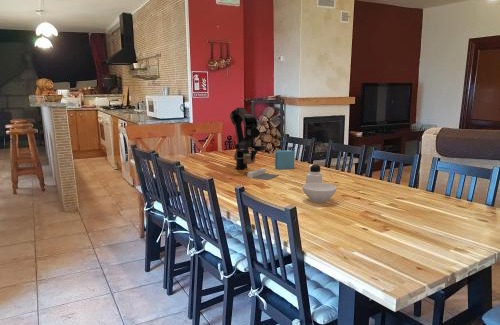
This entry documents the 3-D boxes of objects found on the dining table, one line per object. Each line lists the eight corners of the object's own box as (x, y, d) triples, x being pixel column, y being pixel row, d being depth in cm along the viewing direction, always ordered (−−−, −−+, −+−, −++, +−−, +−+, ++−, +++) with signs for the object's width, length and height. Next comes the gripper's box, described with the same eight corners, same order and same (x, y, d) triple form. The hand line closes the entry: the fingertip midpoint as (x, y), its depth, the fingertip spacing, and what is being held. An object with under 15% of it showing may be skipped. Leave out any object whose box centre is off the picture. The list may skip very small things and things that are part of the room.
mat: (252, 177, 228) (252, 177, 228) (264, 173, 240) (264, 173, 240) (267, 180, 223) (267, 179, 223) (278, 175, 234) (278, 175, 234)
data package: (291, 167, 259) (292, 150, 257) (294, 168, 255) (294, 151, 253) (275, 168, 256) (275, 150, 253) (277, 169, 251) (277, 151, 249)
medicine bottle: (322, 185, 210) (322, 164, 207) (318, 188, 203) (319, 166, 201) (309, 184, 213) (310, 163, 210) (305, 187, 206) (306, 165, 204)
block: (243, 163, 238) (243, 153, 237) (249, 161, 244) (249, 152, 242) (248, 164, 236) (248, 154, 235) (254, 162, 241) (255, 152, 240)
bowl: (315, 207, 171) (315, 192, 169) (295, 198, 185) (295, 184, 183) (343, 203, 178) (343, 188, 177) (321, 194, 192) (322, 181, 191)
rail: (247, 177, 229) (247, 172, 228) (261, 172, 242) (261, 168, 241) (251, 178, 227) (251, 173, 227) (265, 173, 240) (265, 168, 240)
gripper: (229, 136, 235) (229, 161, 238) (255, 138, 225) (255, 164, 228) (239, 134, 244) (239, 158, 247) (264, 136, 234) (264, 161, 237)
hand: (249, 160), depth 239 cm, fingers closed on block, 4 cm apart
